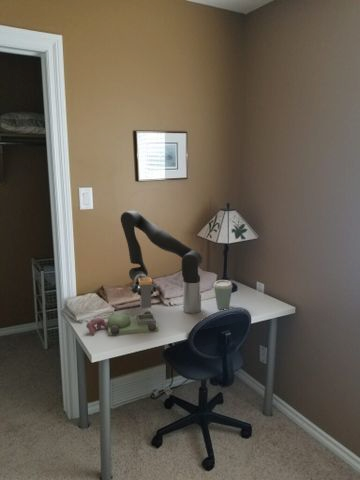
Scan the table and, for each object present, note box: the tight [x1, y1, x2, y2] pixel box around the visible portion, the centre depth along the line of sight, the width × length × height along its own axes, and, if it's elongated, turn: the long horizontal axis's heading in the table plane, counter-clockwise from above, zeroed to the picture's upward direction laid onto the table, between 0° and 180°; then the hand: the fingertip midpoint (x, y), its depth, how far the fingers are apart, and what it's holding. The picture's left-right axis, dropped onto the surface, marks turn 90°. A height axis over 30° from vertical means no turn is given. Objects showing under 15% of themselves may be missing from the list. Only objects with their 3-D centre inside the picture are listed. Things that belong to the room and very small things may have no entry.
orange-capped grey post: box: [138, 276, 153, 309], centre depth 194 cm, size 6×6×14 cm
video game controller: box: [86, 317, 108, 335], centre depth 192 cm, size 10×5×7 cm, turn 140°
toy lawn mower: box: [107, 310, 159, 336], centre depth 196 cm, size 24×16×5 cm
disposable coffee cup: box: [213, 279, 233, 311], centre depth 218 cm, size 11×11×15 cm
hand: (146, 293), depth 192 cm, fingers closed on orange-capped grey post, 5 cm apart
